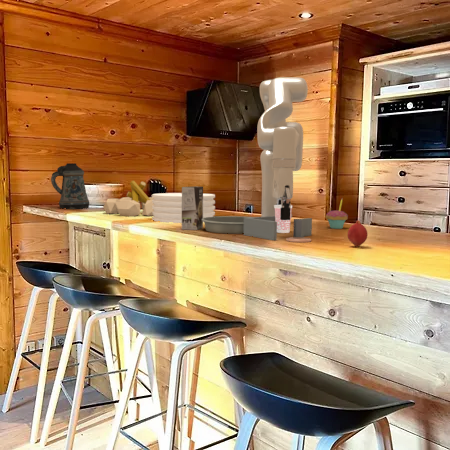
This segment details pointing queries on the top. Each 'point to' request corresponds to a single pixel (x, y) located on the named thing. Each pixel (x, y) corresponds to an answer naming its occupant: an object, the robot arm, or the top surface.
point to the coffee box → (192, 208)
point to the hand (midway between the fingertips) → (282, 218)
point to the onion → (357, 234)
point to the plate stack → (177, 207)
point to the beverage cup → (282, 225)
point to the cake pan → (225, 224)
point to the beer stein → (71, 187)
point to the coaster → (298, 239)
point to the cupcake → (337, 218)
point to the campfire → (131, 202)
